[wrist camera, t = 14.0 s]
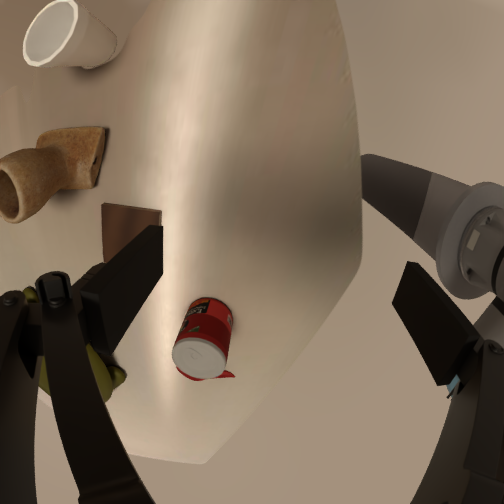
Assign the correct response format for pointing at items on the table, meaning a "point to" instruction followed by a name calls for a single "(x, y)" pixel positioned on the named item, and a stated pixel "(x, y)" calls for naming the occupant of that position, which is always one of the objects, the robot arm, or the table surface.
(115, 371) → the spaceship
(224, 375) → the cayenne pepper
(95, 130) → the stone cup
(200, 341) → the canned food
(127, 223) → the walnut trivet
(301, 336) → the table surface
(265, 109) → the table surface
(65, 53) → the foam cup
